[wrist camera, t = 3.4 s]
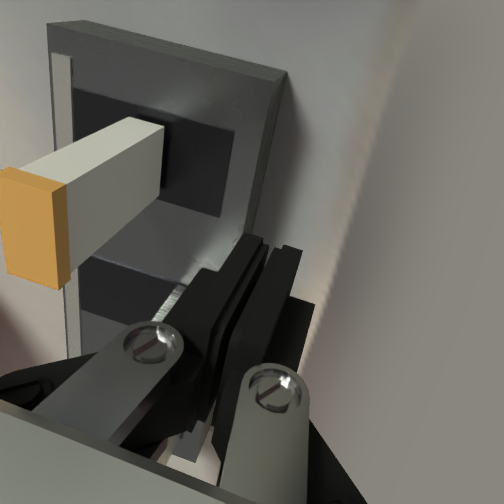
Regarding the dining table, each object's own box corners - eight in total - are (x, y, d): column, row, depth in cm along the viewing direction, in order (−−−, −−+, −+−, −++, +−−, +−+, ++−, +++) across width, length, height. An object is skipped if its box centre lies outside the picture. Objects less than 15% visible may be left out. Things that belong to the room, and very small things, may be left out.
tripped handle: (161, 198, 19) (58, 290, 13) (124, 187, 19) (7, 273, 13) (167, 124, 17) (51, 192, 11) (126, 113, 17) (-8, 173, 11)
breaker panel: (208, 431, 31) (147, 579, 23) (91, 388, 32) (-5, 515, 24) (286, 71, 18) (207, 132, 10) (84, 20, 19) (-131, 38, 11)
